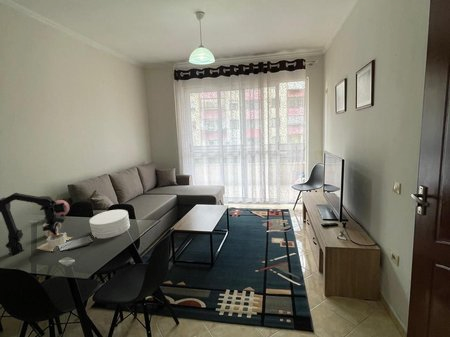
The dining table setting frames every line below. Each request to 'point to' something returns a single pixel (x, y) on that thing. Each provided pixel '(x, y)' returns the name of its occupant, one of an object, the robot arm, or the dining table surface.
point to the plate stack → (109, 223)
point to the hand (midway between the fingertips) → (55, 234)
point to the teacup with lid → (49, 233)
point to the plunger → (55, 235)
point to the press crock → (54, 242)
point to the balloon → (66, 207)
